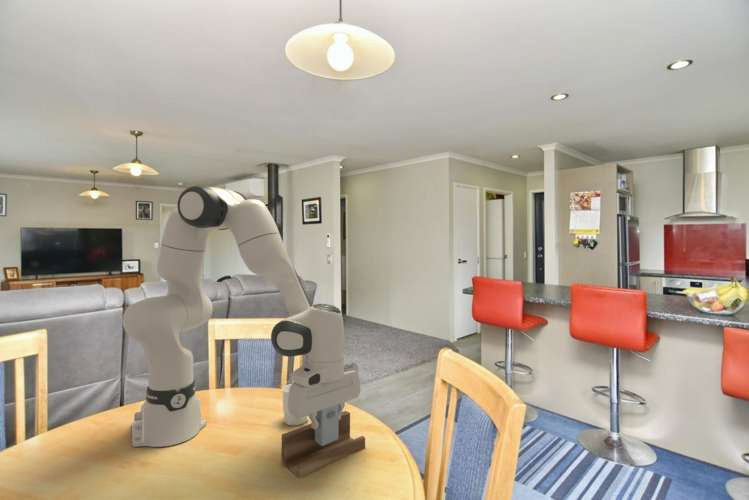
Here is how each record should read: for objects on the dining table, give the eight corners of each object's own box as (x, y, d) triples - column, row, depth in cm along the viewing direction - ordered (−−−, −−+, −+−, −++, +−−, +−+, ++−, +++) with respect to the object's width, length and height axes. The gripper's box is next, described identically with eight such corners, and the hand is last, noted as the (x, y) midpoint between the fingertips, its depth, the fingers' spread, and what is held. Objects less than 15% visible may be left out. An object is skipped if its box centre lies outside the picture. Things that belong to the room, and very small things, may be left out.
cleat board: (281, 463, 94) (281, 434, 94) (345, 435, 108) (345, 410, 108) (300, 477, 88) (300, 447, 88) (365, 446, 102) (365, 420, 102)
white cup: (303, 427, 113) (303, 393, 113) (277, 425, 114) (277, 391, 114) (312, 416, 120) (312, 384, 120) (288, 413, 122) (289, 382, 122)
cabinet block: (314, 441, 97) (314, 405, 97) (330, 434, 101) (330, 400, 101) (324, 447, 94) (324, 410, 94) (340, 440, 98) (340, 404, 98)
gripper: (350, 358, 107) (350, 408, 107) (284, 375, 93) (284, 432, 93) (365, 363, 103) (365, 415, 103) (299, 381, 89) (299, 442, 89)
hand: (326, 423), depth 98 cm, fingers closed on cabinet block, 5 cm apart
